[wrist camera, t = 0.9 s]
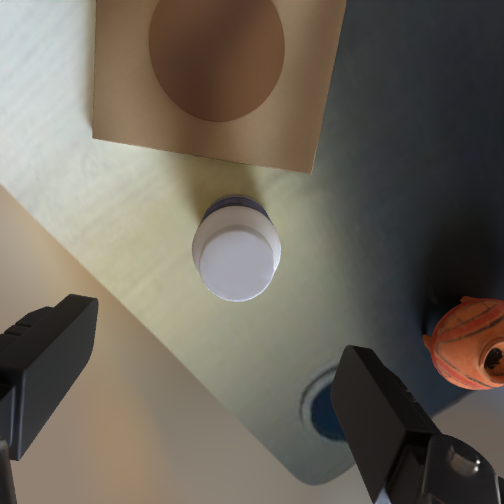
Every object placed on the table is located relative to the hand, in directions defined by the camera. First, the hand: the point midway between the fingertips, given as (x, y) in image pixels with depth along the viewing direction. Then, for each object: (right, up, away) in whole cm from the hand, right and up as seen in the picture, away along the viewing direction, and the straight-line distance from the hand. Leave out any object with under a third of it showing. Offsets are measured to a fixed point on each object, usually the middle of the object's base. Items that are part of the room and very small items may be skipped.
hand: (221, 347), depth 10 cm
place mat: (-1, +17, +12) cm, 21 cm away
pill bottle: (0, +5, +16) cm, 17 cm away
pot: (+19, -4, +20) cm, 28 cm away
